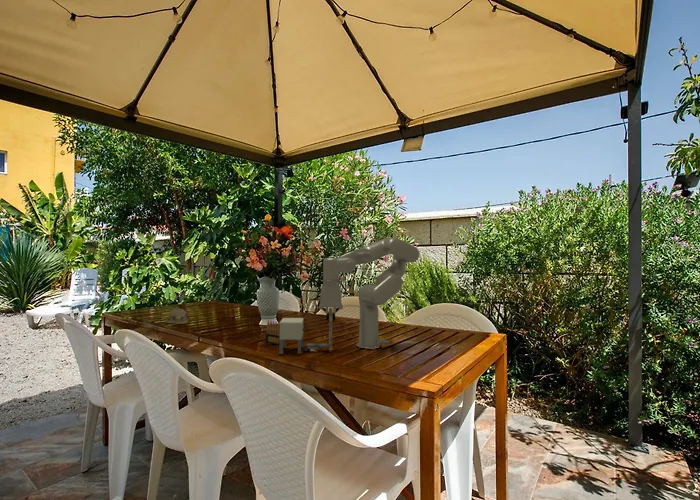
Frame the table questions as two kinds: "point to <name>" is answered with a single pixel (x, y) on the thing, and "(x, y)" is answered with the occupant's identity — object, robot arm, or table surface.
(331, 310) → the hook scraper
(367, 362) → the table surface
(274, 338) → the ammunition clip
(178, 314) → the ceramic model
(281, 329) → the cabinet
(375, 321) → the robot arm
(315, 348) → the steel disc
